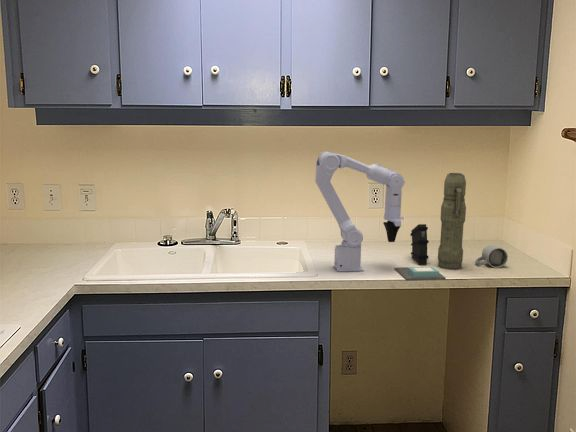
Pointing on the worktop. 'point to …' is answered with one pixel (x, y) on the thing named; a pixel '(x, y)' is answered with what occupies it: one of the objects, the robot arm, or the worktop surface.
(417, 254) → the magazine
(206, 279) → the worktop surface
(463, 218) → the thermos
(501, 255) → the ceramic mug
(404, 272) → the mat
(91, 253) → the worktop surface
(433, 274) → the card box
